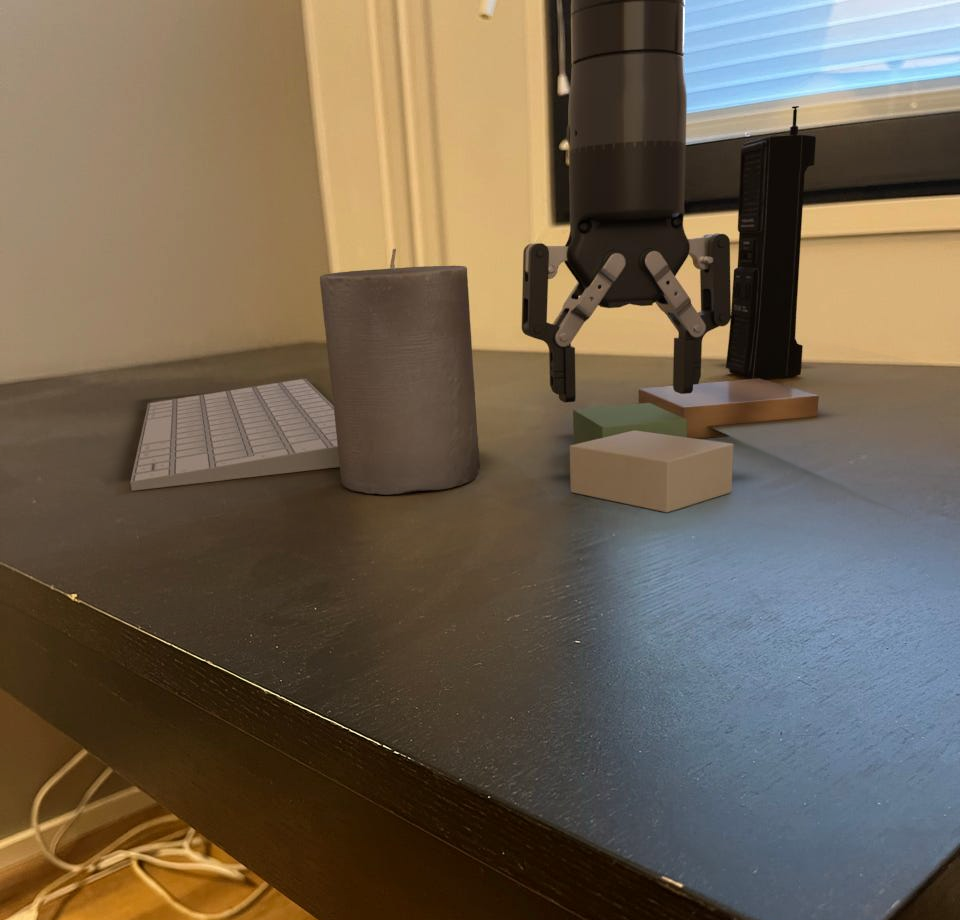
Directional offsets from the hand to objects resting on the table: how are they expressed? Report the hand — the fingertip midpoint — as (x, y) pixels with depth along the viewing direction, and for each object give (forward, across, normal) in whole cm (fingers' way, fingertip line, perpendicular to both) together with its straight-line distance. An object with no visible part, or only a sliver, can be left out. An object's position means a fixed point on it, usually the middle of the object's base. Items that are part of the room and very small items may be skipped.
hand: (625, 396), depth 70 cm
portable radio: (+4, +25, +33) cm, 42 cm away
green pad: (+4, 0, 0) cm, 4 cm away
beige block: (+4, -2, -11) cm, 12 cm away
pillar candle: (+5, -16, -1) cm, 16 cm away
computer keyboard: (+5, -29, +26) cm, 39 cm away
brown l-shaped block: (+4, +11, +9) cm, 15 cm away
